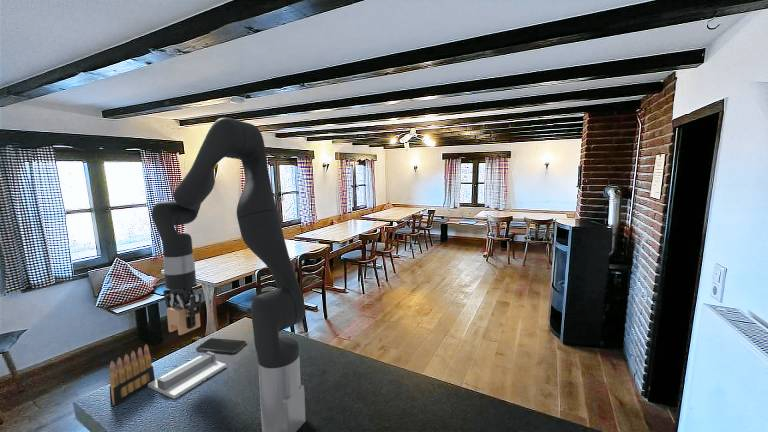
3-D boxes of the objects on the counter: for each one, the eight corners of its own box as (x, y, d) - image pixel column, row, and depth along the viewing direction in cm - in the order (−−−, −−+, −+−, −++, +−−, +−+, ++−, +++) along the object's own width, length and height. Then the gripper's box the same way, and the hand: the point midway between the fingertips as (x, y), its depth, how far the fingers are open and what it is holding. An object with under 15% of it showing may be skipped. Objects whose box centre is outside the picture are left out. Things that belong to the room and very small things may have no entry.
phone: (233, 352, 107) (194, 348, 110) (234, 355, 108) (194, 352, 110) (247, 341, 115) (210, 337, 118) (247, 343, 115) (210, 340, 118)
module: (200, 326, 95) (198, 302, 95) (180, 335, 90) (178, 310, 89) (188, 322, 98) (186, 300, 97) (168, 331, 92) (166, 307, 91)
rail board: (226, 367, 100) (225, 356, 100) (174, 398, 86) (173, 386, 86) (200, 358, 105) (199, 348, 105) (148, 387, 91) (146, 375, 91)
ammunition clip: (115, 406, 83) (110, 363, 82) (110, 405, 84) (105, 362, 83) (155, 381, 94) (151, 343, 92) (150, 380, 94) (146, 342, 93)
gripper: (208, 269, 92) (212, 325, 94) (177, 263, 98) (181, 316, 100) (183, 276, 85) (188, 336, 87) (150, 270, 91) (156, 326, 93)
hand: (184, 325), depth 94 cm, fingers closed on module, 5 cm apart
